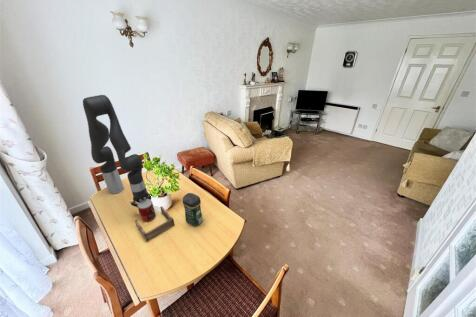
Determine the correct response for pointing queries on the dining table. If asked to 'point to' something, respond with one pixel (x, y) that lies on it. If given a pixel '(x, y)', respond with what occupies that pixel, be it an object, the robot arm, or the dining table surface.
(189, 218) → the coffee jar
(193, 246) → the dining table surface
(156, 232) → the corral
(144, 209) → the canned food
